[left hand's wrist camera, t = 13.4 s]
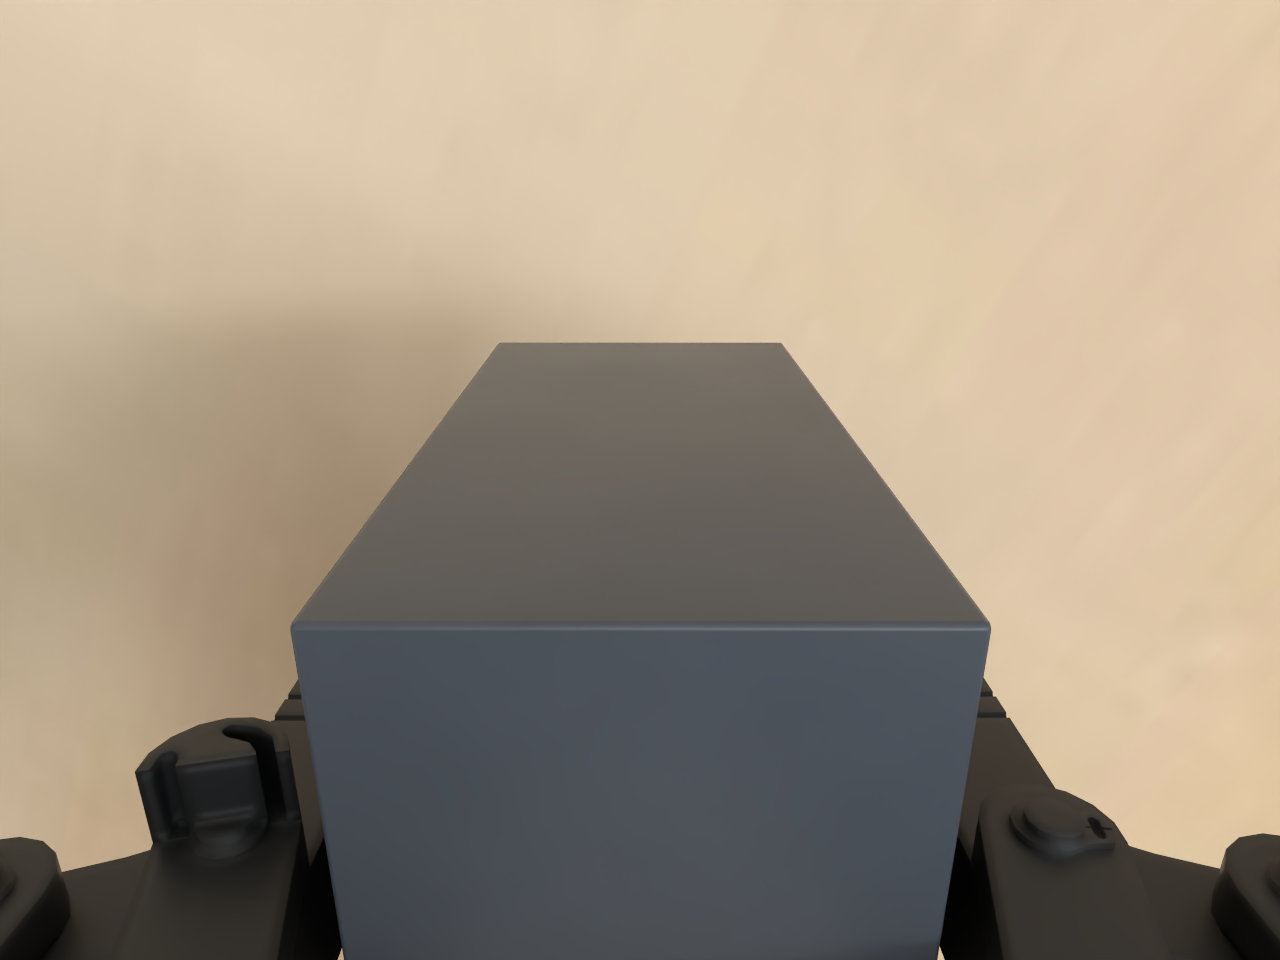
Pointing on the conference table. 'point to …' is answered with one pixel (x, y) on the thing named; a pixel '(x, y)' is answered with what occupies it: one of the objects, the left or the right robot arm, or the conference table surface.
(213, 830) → the left robot arm
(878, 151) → the conference table surface
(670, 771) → the bar
